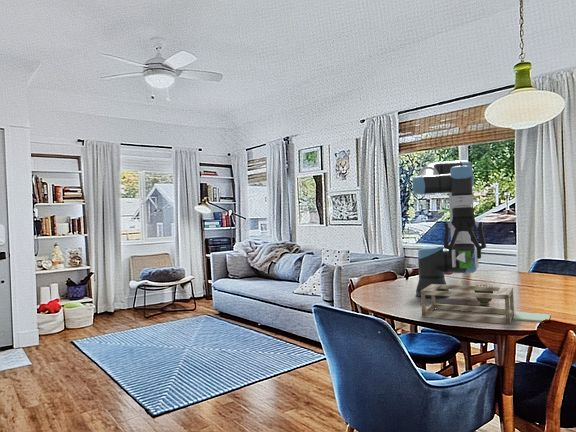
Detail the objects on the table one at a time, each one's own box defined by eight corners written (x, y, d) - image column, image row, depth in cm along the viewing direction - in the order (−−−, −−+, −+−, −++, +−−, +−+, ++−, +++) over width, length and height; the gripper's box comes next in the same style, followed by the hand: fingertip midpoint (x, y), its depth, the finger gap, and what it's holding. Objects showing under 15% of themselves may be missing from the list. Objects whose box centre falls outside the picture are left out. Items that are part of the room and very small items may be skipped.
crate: (422, 316, 165) (420, 290, 165) (432, 308, 179) (431, 284, 179) (509, 324, 149) (508, 295, 149) (514, 314, 163) (512, 287, 163)
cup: (493, 308, 174) (492, 288, 174) (473, 306, 178) (472, 287, 178) (495, 304, 181) (494, 285, 181) (476, 303, 184) (475, 284, 184)
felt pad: (513, 319, 154) (513, 318, 154) (516, 313, 164) (516, 311, 164) (549, 322, 149) (549, 321, 149) (550, 315, 158) (549, 314, 158)
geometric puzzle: (455, 260, 171) (454, 245, 166) (474, 260, 168) (474, 245, 164) (456, 273, 165) (455, 258, 161) (475, 273, 163) (475, 258, 158)
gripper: (432, 208, 166) (435, 267, 167) (490, 205, 156) (493, 269, 156) (437, 208, 173) (440, 265, 173) (493, 205, 162) (496, 266, 162)
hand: (465, 267), depth 164 cm, fingers closed on geometric puzzle, 7 cm apart
